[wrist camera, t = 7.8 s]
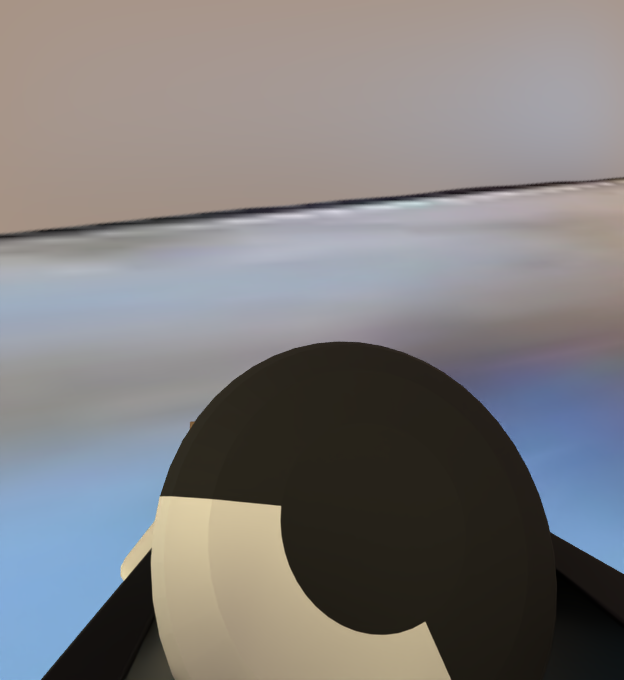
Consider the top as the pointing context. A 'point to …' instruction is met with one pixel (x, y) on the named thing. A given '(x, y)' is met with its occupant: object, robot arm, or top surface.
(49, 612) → the top surface
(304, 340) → the top surface
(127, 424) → the top surface
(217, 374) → the top surface
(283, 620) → the medicine bottle
